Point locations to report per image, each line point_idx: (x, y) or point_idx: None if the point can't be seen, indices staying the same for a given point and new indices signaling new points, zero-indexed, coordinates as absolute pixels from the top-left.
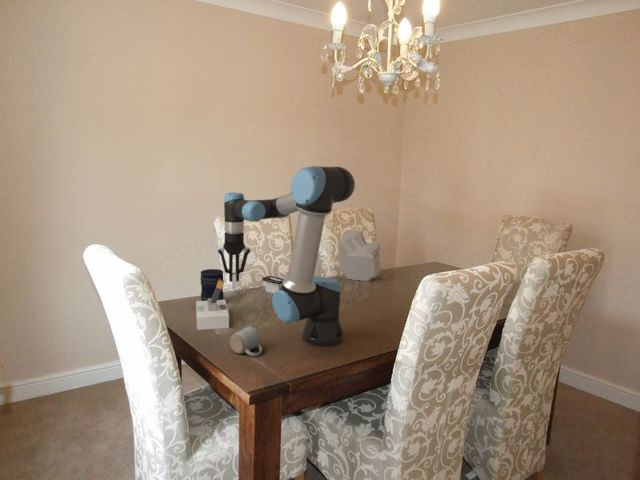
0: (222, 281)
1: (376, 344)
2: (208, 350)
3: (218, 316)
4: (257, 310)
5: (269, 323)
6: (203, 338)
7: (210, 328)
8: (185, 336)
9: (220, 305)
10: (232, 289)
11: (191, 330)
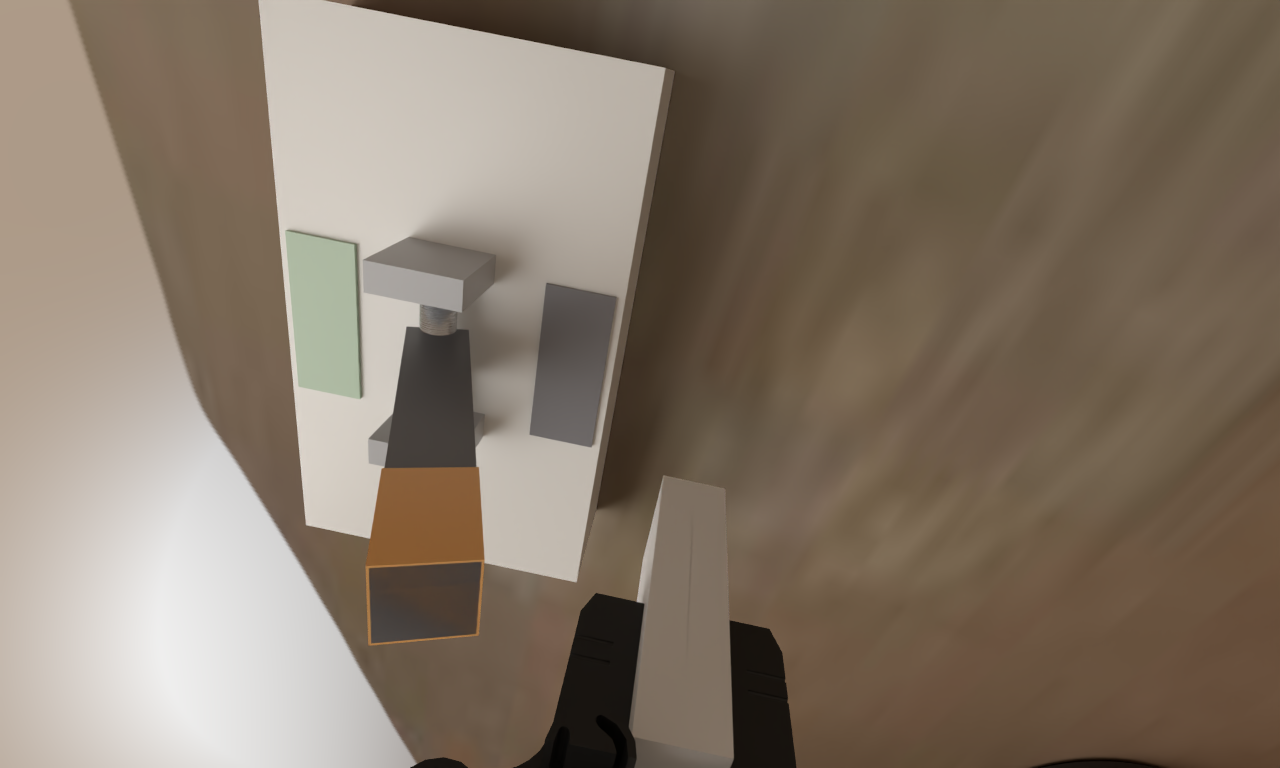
0: (438, 627)
1: None
2: (426, 719)
3: (487, 562)
4: (1029, 193)
5: (928, 545)
6: None
7: None
8: (293, 527)
9: (550, 304)
10: (642, 564)
11: None
